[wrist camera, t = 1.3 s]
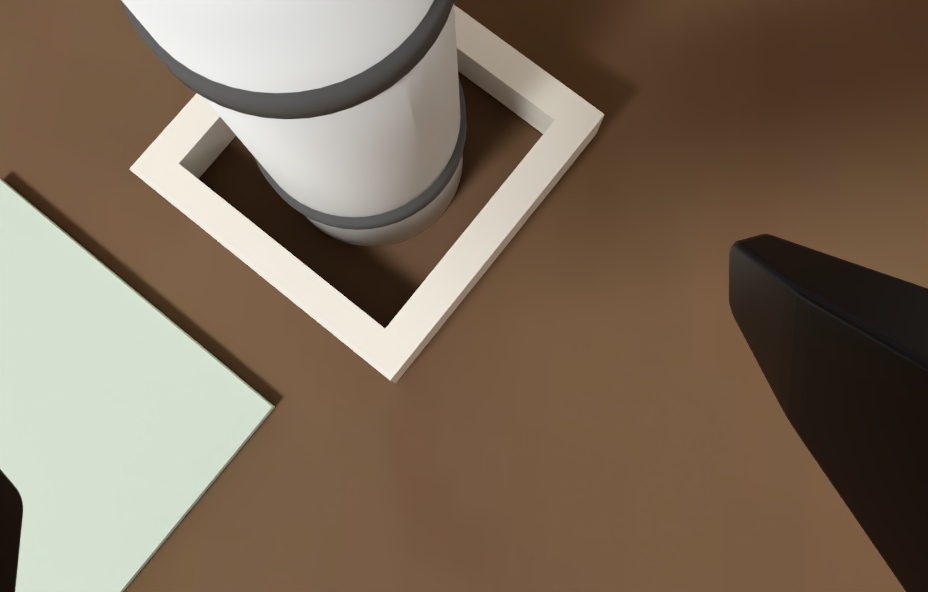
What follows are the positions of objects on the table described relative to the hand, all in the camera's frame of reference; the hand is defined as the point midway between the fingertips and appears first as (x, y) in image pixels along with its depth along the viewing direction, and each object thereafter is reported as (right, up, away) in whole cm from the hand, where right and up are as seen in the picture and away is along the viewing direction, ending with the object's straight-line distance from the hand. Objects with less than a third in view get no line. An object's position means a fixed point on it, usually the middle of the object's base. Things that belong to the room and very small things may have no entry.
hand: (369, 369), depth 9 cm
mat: (-12, -3, +13) cm, 18 cm away
